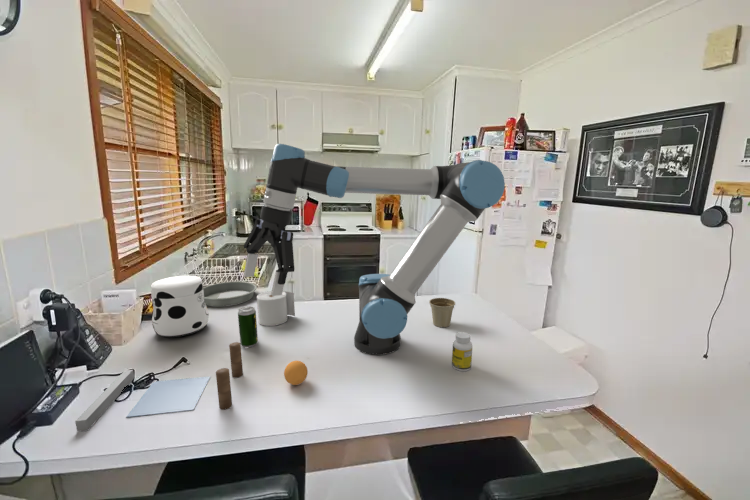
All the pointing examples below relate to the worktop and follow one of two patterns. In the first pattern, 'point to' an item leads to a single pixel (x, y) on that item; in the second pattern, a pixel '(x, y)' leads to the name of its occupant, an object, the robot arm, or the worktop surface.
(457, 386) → the worktop surface
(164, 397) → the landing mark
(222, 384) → the post
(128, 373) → the wall
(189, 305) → the milk container
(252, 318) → the beer can
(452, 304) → the flower pot
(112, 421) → the worktop surface
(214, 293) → the cake pan
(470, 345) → the supplement bottle
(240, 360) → the post
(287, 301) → the toilet tissue
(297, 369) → the ball
